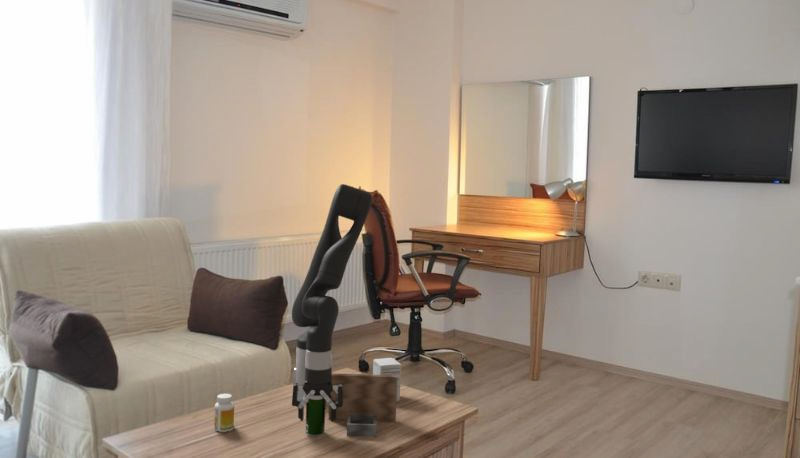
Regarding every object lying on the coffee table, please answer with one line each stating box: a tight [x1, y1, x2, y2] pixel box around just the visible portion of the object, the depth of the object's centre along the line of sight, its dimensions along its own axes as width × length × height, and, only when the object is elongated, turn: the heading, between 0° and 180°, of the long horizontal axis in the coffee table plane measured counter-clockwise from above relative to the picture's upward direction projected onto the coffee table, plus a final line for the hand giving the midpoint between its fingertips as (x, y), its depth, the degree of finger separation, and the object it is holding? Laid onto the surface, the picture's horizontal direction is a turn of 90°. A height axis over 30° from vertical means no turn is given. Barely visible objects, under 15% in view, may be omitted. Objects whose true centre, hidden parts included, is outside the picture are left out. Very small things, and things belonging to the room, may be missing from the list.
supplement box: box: [372, 357, 402, 402], centre depth 225 cm, size 7×7×13 cm
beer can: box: [305, 394, 326, 438], centre depth 195 cm, size 5×5×12 cm
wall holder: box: [328, 372, 398, 438], centre depth 200 cm, size 20×13×14 cm, turn 92°
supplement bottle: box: [213, 393, 235, 433], centre depth 196 cm, size 5×5×10 cm
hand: (317, 420), depth 195 cm, fingers open, 8 cm apart
